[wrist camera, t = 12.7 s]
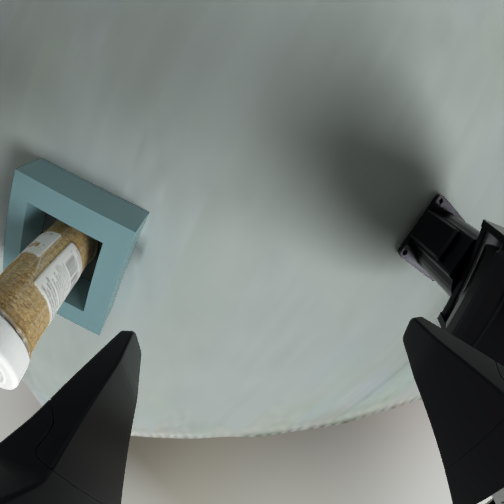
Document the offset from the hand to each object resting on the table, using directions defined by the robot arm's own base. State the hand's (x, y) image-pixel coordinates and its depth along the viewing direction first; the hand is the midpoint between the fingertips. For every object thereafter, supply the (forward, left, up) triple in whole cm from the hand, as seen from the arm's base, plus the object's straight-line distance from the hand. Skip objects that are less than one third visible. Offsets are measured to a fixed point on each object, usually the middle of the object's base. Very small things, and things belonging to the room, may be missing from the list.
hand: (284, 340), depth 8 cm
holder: (+11, +9, -13) cm, 19 cm away
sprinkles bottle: (+11, +9, -13) cm, 19 cm away
